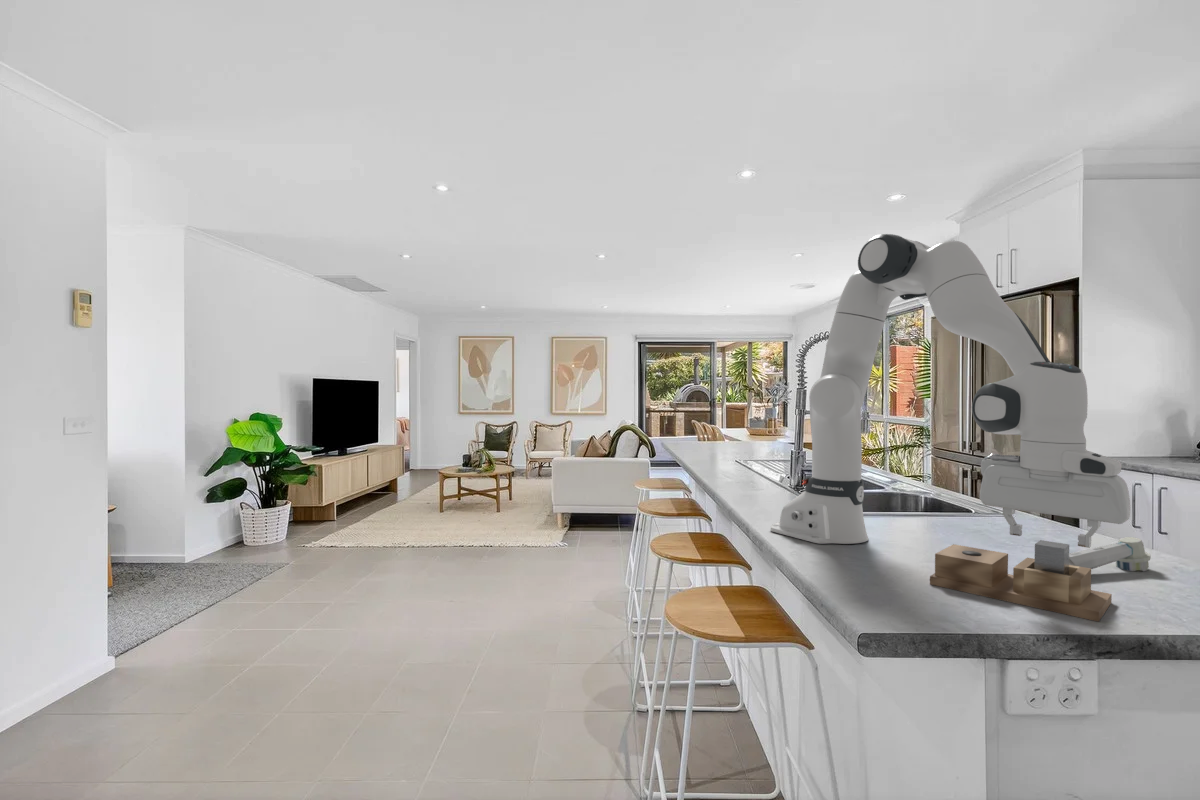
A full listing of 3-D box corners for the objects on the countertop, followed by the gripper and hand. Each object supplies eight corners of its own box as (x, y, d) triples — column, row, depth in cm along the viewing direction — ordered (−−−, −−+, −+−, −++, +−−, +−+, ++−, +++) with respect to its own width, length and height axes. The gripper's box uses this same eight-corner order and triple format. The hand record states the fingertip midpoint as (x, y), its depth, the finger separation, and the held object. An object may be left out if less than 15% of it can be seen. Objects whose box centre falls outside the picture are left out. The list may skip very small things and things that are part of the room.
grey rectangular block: (1034, 591, 102) (1034, 544, 102) (1039, 585, 105) (1040, 540, 105) (1063, 597, 99) (1064, 548, 99) (1068, 591, 102) (1069, 544, 102)
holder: (929, 584, 110) (930, 553, 110) (952, 570, 118) (952, 542, 118) (1098, 621, 93) (1099, 585, 93) (1111, 602, 101) (1112, 569, 101)
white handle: (1036, 555, 116) (1125, 528, 124) (1039, 589, 117) (1128, 560, 124) (1064, 562, 111) (1155, 534, 119) (1067, 597, 112) (1158, 567, 119)
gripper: (975, 453, 107) (973, 531, 107) (1127, 466, 92) (1124, 557, 92) (986, 451, 111) (984, 526, 112) (1134, 463, 96) (1130, 550, 96)
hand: (1048, 540), depth 102 cm, fingers open, 8 cm apart
